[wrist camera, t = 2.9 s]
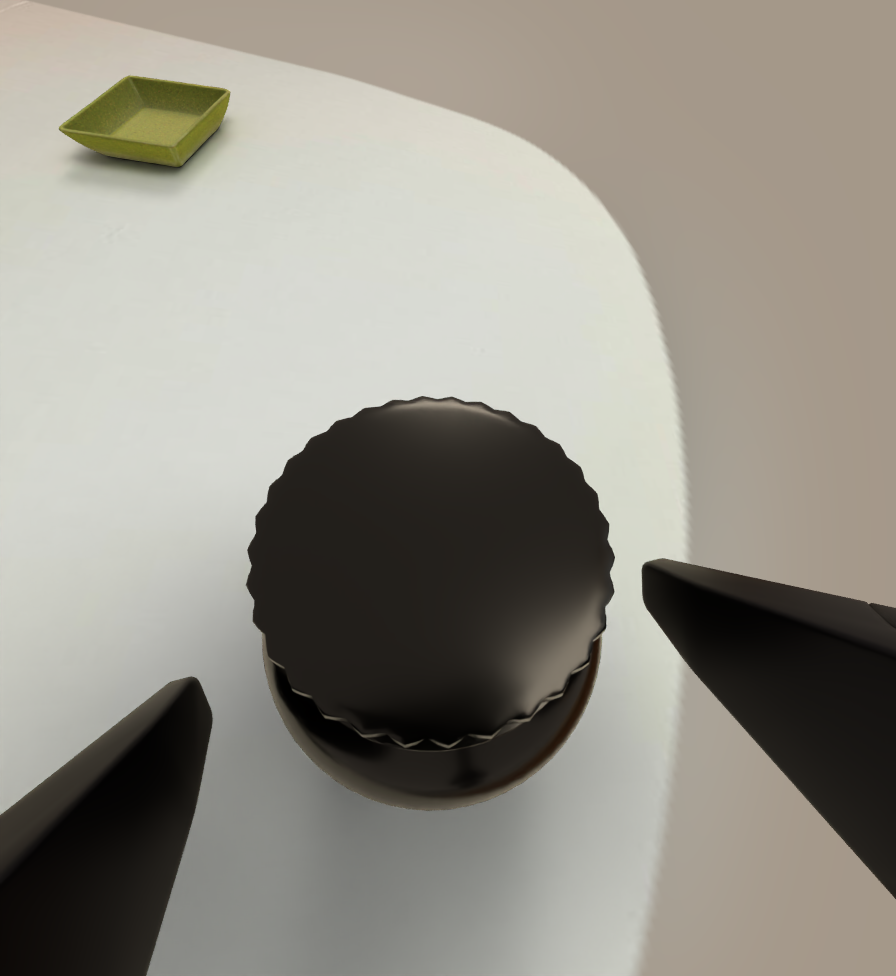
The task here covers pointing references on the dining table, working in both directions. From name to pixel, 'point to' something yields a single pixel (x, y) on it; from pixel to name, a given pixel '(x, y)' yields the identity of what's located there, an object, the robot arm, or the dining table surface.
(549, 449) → the supplement bottle
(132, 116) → the olive green square dish
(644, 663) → the dining table surface
